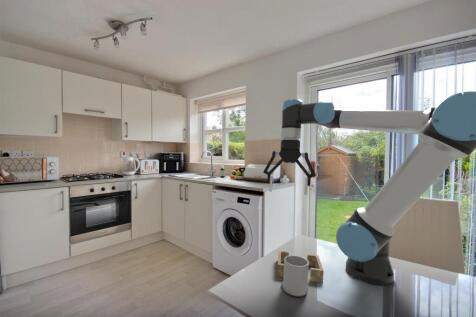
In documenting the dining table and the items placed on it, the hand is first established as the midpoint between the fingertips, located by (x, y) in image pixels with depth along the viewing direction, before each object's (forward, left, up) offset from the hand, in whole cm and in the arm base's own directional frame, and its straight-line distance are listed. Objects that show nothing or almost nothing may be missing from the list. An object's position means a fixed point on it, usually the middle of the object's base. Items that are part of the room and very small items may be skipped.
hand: (287, 192), depth 91 cm
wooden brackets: (-5, +8, -27) cm, 28 cm away
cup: (-3, +20, -26) cm, 33 cm away
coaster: (-3, +20, -27) cm, 33 cm away
